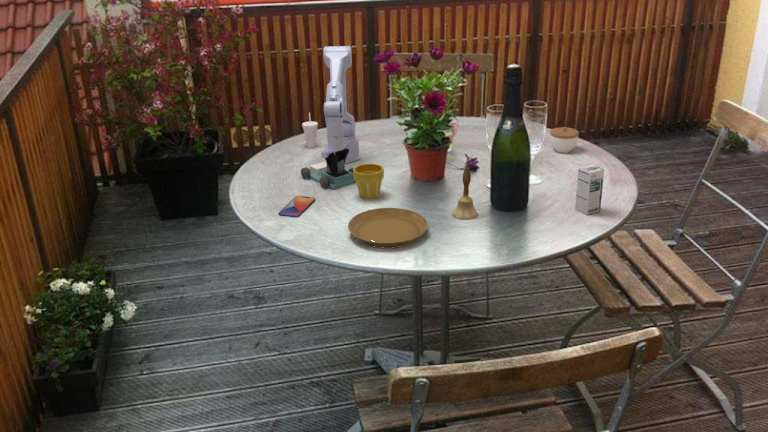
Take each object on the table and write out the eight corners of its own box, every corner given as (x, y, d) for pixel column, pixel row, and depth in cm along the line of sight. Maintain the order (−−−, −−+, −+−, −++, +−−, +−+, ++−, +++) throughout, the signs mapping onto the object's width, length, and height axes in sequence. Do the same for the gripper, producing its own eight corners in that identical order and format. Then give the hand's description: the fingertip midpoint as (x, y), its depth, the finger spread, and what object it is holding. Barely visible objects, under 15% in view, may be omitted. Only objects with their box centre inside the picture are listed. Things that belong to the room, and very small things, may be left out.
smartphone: (277, 216, 234) (277, 213, 233) (296, 198, 246) (296, 195, 246) (298, 219, 232) (298, 216, 231) (316, 200, 244) (316, 197, 244)
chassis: (329, 166, 273) (329, 156, 271) (362, 180, 259) (361, 170, 257) (298, 175, 265) (297, 165, 263) (329, 191, 251) (329, 180, 249)
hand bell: (473, 207, 235) (475, 161, 228) (481, 218, 228) (483, 171, 221) (449, 210, 234) (449, 164, 227) (455, 220, 226) (456, 173, 220)
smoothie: (320, 143, 297) (318, 110, 291) (317, 149, 291) (315, 115, 285) (305, 143, 298) (302, 110, 292) (302, 148, 292) (299, 115, 286)
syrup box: (586, 215, 228) (591, 172, 222) (574, 208, 232) (578, 166, 226) (600, 211, 230) (605, 169, 224) (587, 205, 235) (591, 163, 229)
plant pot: (347, 195, 247) (346, 169, 243) (368, 187, 253) (368, 160, 249) (369, 203, 240) (368, 176, 236) (390, 194, 247) (390, 167, 243)
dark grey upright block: (333, 172, 260) (332, 157, 258) (345, 175, 258) (344, 159, 255) (327, 176, 257) (326, 160, 255) (338, 178, 255) (337, 162, 252)
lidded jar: (579, 154, 278) (582, 131, 274) (551, 155, 278) (553, 132, 274) (573, 145, 288) (575, 123, 284) (546, 146, 288) (548, 123, 284)
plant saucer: (422, 254, 207) (422, 244, 206) (340, 249, 211) (339, 239, 210) (431, 219, 229) (431, 209, 227) (357, 215, 233) (357, 205, 231)
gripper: (337, 126, 258) (339, 162, 264) (313, 138, 247) (315, 175, 253) (354, 129, 255) (355, 165, 261) (330, 141, 244) (332, 178, 249)
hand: (337, 170), depth 256 cm, fingers closed on dark grey upright block, 4 cm apart
